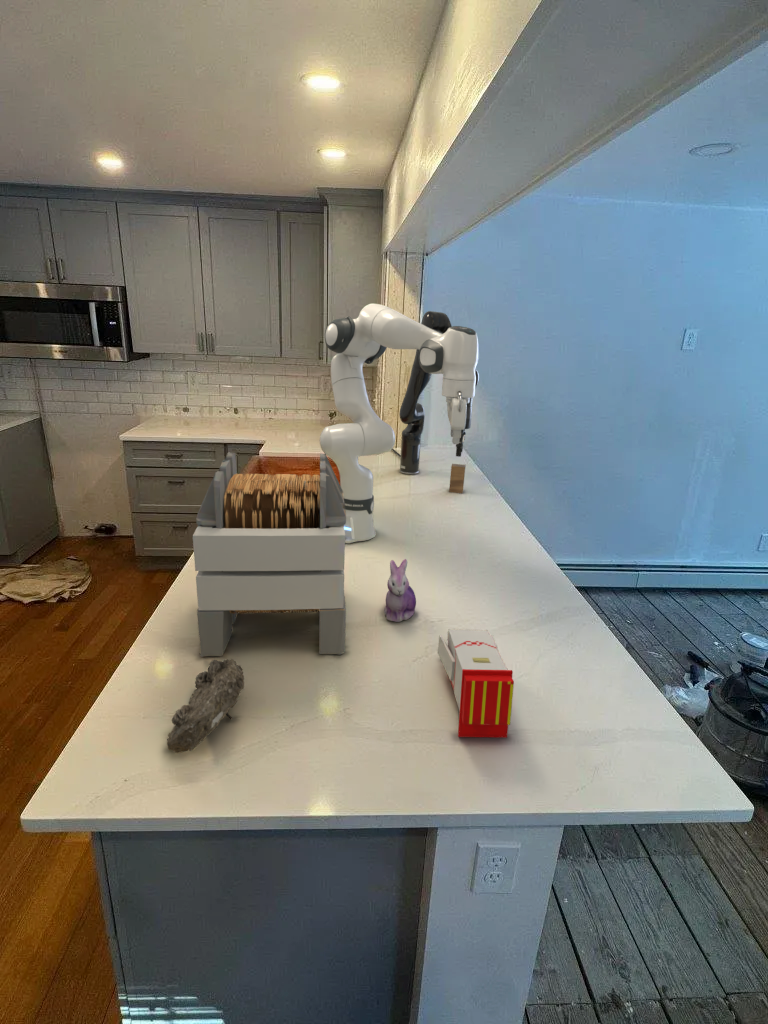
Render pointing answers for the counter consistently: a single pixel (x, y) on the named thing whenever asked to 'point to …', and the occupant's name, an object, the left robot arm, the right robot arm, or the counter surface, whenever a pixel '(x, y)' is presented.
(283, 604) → the record crate
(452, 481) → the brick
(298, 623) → the counter surface
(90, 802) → the counter surface
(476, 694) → the toy
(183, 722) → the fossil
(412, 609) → the figurine
